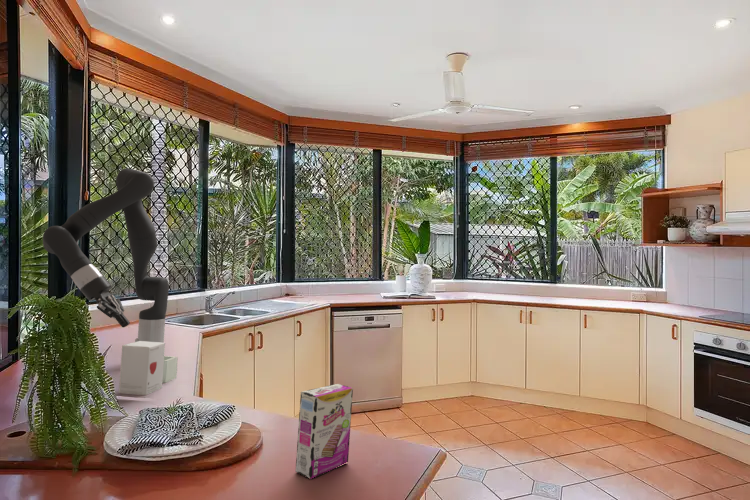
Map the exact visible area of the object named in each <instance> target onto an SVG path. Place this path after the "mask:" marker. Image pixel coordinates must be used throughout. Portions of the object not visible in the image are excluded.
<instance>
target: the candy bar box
mask: <svg viewBox="0 0 750 500" xmlns="http://www.w3.org/2000/svg"><path fill="white" fill-rule="evenodd" d="M353 391H354V387H351V386H348V385H345V384H341V383H336V384H329V385H326V386H322V387H317V388H312V389H308V390H303V391H301V392H300V399H299V400H300V401H299V417H298V427H297V428H298V431H297V442H296V443H297V444H296V459H295V460H296V461H295V473H296V472H297V474H298V473H299V475H300V474H301V476H302V475H303V476H302V477H304V476H306V477H308V478H310V479H309V480H313V479H315V478H317V477H316V476H318V477H320V476H322V475H324V474H323V473H325V474H327V473H329V472H331V471H330V470H332V469H334V468H336V467H338V466H340V465H342V464H344V463H346V462H348V463H349V452H350V441H351V440H350V438H351V437H350V435H351V423H352V421H351V420H352V409H353V408H352V407H353ZM336 469H337V468H336ZM334 470H335V469H334ZM328 471H329V472H328ZM332 471H333V470H332ZM326 472H327V473H326ZM321 474H322V475H321ZM319 475H320V476H319ZM306 477H305V478H306ZM314 477H315V478H314ZM308 478H307V479H308ZM312 478H313V479H312Z"/></svg>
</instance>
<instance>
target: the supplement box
mask: <svg viewBox="0 0 750 500" xmlns="http://www.w3.org/2000/svg"><path fill="white" fill-rule="evenodd" d="M165 346H166V343H165V342H164V343H162V342H148V341H138V342H135V341H134V342H130V343H127V344H123V345H122V346H121V347H122V348H121V357H120V371H119V385H118V394H127V395H138V396H148V395H150V394H151V393H154V392H156V391H159V390H160V389H162V388H163V383H162V381H163V365H164V356H165V348H166V347H165ZM145 398H146V397H144V399H145Z"/></svg>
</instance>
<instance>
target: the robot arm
mask: <svg viewBox="0 0 750 500" xmlns="http://www.w3.org/2000/svg"><path fill="white" fill-rule="evenodd" d="M115 183H116V185H115V186H116V189H117V191H115V192H113V193H111V194H109V195H107V196H104V197H102V198H99V199H96V200H94V201H91V202H89V203H87V204H86V205H83V206H82V207H81V208H79V209H78V210H76V211H75V212H73V213H72V214H71V215H70V216H68V218H67V219H66V221H65V223H64V224H62V225H52V226H49V227H48V228H46V229H45V230H44V232H43V235H42V246H43V248H44V250H45V251H46V252H48V253H50V254H53V255H55V256H56V257H57V258H58V260H59V262H60V264H61V267H62V268H63V269H64V271H65V272H66V274H67V275H68V276H69V277H70V278H71V280H72V281H73V284H75V286H76V287H77V288H78V289H79V291H80V292H81V293H82V294H83V295H84V296H85V298H86V299H87V300H88V301H90V302H92V301H94V300H95V302H96V303H97V306H96V309H97V310H98V311H100V312H101V313H103V314H104V315H106V316H107V317H108V318H110V319H114V320H116V321H117V322H118V324H119V325H120V327H121V328H127V327H128V326H129V325H130V324H131V321H130V320H129V319H128V318H127V317H126V316H125V314H124V313H125V309H124V306H123V304H122V302H121V299H120V298H116V296H114V295H113V294H111V293H110V292H109V290H111V289H112V285H111V284H110V282H109V281H108V280H107V279H106V278H105V276H104V275H103V274H102V272H101V271H100V270H99V268H97V267H96V266H95V265H94V264H93V262H91V260H90V259H89V258H88V257H87V256H86V254H84V252H83V251H82V249H81V248H80V246H79V244H78V243H77V242H78V241H79V240H81V238H82V237H83V236H84V235H86V234H87V233H89V232H90V231H92V230H93V229H94V228H95V227H97V226H98V225H100V224H101V223H103V222H104V221H105V220H107V219H108V218H110V217H111V216H113V215H114V214H116V213H118V212H120V211H121V210H123V215H124V220H125V224H126V231H127V236H128V244H129V249H130V252H131V259H132V265H133V274H134V288H135V294H136V297H137V298H138V299H139V300H141V301H151V302H153V305H152V306H151V307H148V308H145V309H143V310H140V311H139V313H138V330H137V338H135V339H134V342H138V341H148V342H162V343H165V331H166V330H165V328H166V327H165V326H166V315H167V310H168V309H167V308H168V299H169V291H170V290H169V288H170V285H169V281H168V279H167V278H166V277H163V276H149V274H148V273H149V272H148V265H149V263H150V261H151V259H152V257H153V256H154V254H155V252H156V250H157V248H158V240H157V235H156V234H157V232H156V229H155V225H154V223H153V222H152V220H151V218H150V216H149V214H148V213H147V211H146V209H145V208H144V207H145V206H144V205H143V200H142V199H144V198H146V197H148V196H149V195H150V194H151V193H152V191H153V190H154V186H155V180H154V178H153V177H152V176H151V174H149V173H148V172H144V171H141V170H138V169H133V168H123V169H121V170H120V171H118V172H117V175H116V178H115Z"/></svg>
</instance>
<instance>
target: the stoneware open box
mask: <svg viewBox="0 0 750 500" xmlns="http://www.w3.org/2000/svg"><path fill="white" fill-rule="evenodd" d="M178 359H179V357H178V356H174V355H173V356H172V355H164V365H163V381H162V384H163V383H166V384H167V383H169V382H171V381H172V380H174V379H177V376H178V375H177V373H178Z"/></svg>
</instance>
